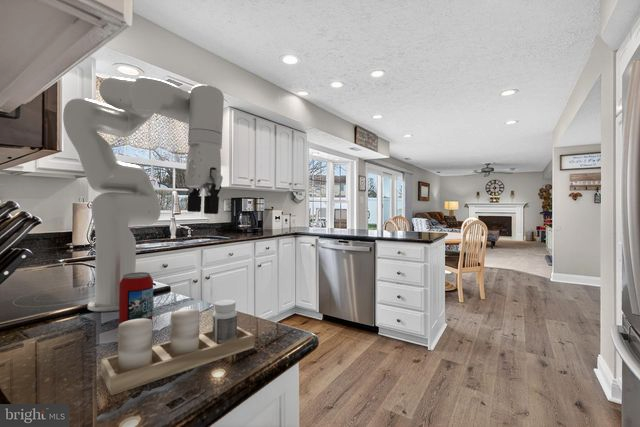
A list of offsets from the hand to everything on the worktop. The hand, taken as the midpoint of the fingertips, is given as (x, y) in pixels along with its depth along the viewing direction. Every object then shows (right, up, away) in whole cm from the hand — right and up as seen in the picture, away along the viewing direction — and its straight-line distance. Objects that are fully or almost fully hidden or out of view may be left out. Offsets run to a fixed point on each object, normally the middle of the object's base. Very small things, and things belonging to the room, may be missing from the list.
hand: (202, 212), depth 74 cm
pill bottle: (+9, -27, -12) cm, 30 cm away
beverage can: (-15, -27, -2) cm, 30 cm away
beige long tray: (+3, -27, -18) cm, 32 cm away
